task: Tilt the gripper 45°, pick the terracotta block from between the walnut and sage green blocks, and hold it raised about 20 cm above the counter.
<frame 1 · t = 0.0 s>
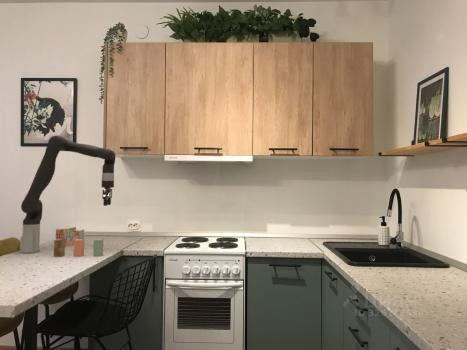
hand: (107, 205, 205), 29 cm above the worktop, tool pointing down, fingers open, 8 cm apart
sage green block: (98, 255, 190), on the worktop
terracotta block: (78, 255, 189), on the worktop
stack of blocks: (70, 244, 225), on the worktop
walnut block: (59, 255, 188), on the worktop
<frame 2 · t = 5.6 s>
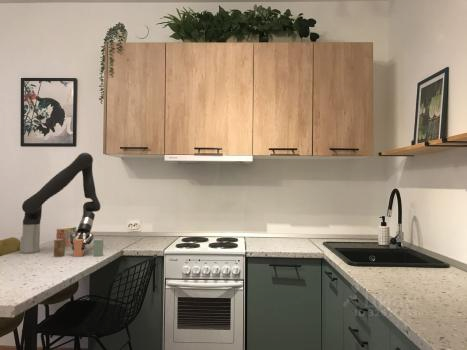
hand: (77, 249, 187), 4 cm above the worktop, tool tilted 45°, fingers closed on terracotta block, 4 cm apart
terracotta block: (78, 255, 189), on the worktop, touching gripper
everything else where it was.
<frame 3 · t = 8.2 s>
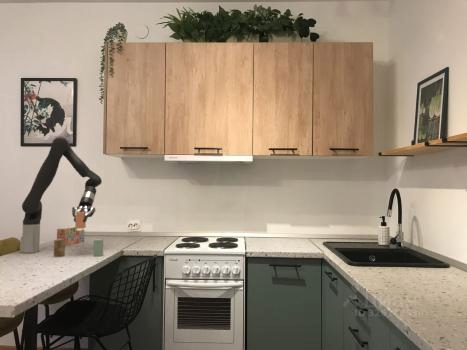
hand: (79, 221, 189), 20 cm above the worktop, tool tilted 45°, fingers closed on terracotta block, 4 cm apart
terracotta block: (80, 227, 191), point 16 cm above the worktop, touching gripper
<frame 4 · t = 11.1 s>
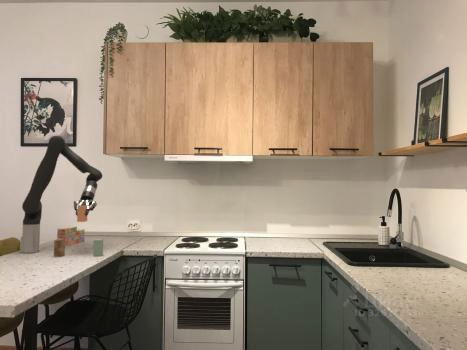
hand: (81, 214, 192), 24 cm above the worktop, tool tilted 45°, fingers closed on terracotta block, 4 cm apart
terracotta block: (82, 221, 194), point 20 cm above the worktop, touching gripper
at the end: terracotta block inside the target area (1.0 cm from its centre), point 19.9 cm above the worktop; walnut block moved 0.0 cm from its start; sage green block moved 0.0 cm from its start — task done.
